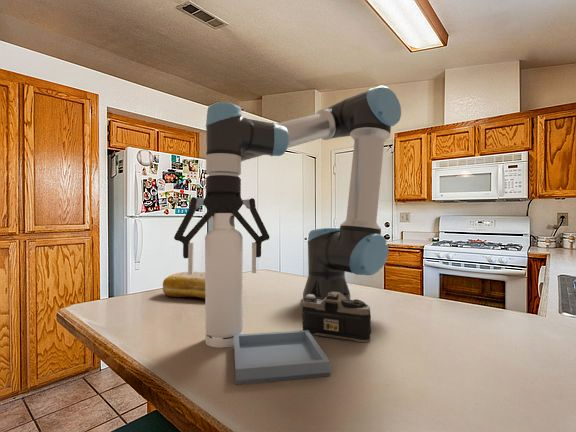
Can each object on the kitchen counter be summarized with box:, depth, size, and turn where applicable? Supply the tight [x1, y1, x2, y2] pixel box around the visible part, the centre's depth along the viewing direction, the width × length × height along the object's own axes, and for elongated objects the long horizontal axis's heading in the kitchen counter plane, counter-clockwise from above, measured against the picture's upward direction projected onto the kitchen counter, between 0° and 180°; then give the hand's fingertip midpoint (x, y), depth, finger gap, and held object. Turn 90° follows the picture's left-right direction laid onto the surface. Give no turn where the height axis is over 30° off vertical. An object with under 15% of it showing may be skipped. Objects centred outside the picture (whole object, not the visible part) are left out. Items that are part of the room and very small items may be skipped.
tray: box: [233, 329, 331, 385], centre depth 64 cm, size 16×16×2 cm
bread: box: [162, 271, 205, 299], centre depth 115 cm, size 13×26×8 cm, turn 77°
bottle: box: [204, 213, 244, 348], centre depth 74 cm, size 8×8×28 cm
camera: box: [301, 292, 372, 344], centre depth 79 cm, size 16×10×10 cm, turn 66°
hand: (222, 273), depth 74 cm, fingers open, 13 cm apart
